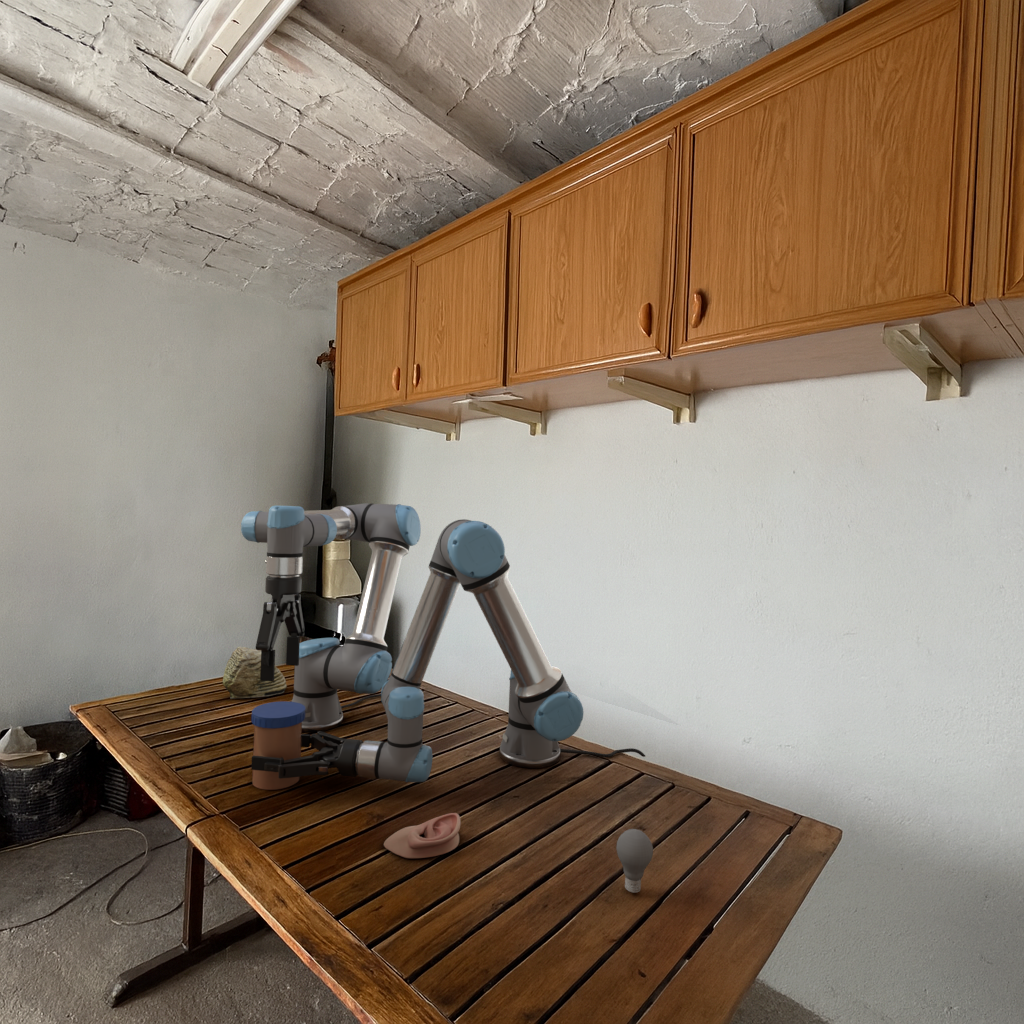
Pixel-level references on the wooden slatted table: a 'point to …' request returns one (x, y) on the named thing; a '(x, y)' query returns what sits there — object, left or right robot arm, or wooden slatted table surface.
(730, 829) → the wooden slatted table surface
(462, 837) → the wooden slatted table surface
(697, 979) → the wooden slatted table surface
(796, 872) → the wooden slatted table surface
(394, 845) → the anatomical model
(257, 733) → the jar
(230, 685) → the fossil
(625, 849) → the light bulb
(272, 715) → the lid
